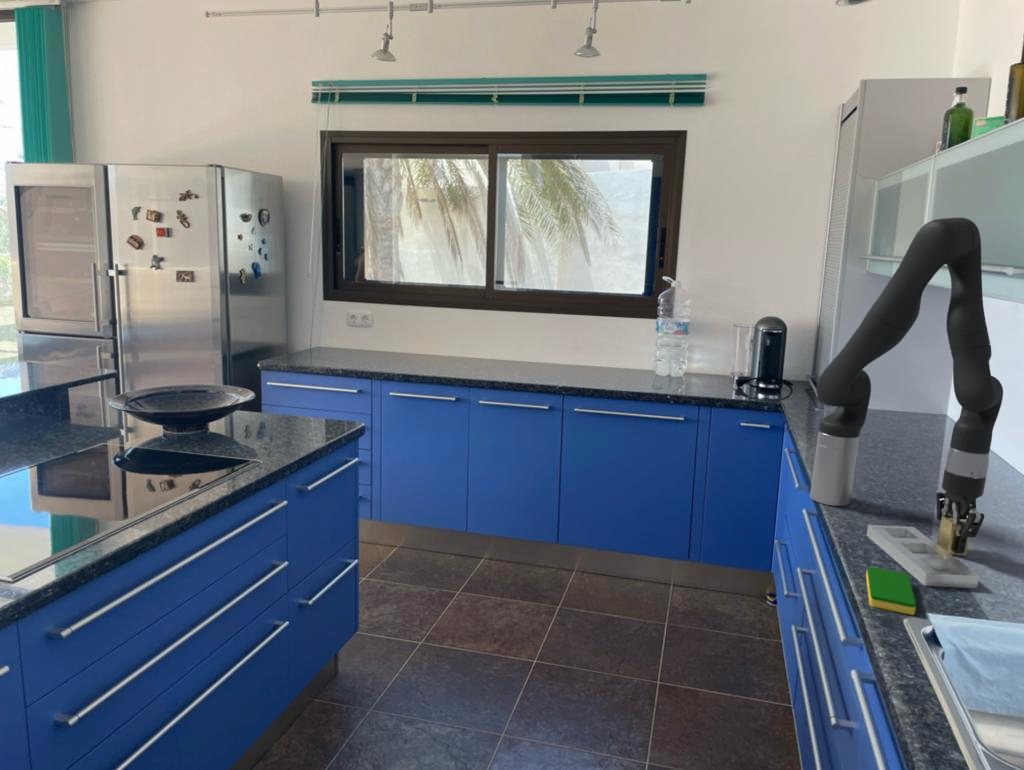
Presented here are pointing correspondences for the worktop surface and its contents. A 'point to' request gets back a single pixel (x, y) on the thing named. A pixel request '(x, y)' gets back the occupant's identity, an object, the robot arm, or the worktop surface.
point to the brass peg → (949, 535)
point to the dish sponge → (890, 590)
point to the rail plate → (922, 557)
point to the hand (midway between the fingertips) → (951, 547)
